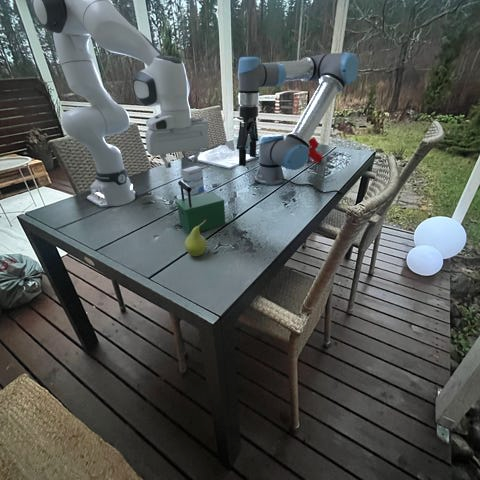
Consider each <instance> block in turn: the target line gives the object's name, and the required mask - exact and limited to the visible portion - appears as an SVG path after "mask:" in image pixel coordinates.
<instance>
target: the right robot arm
mask: <svg viewBox="0 0 480 480" xmlns="http://www.w3.org/2000/svg"><path fill="white" fill-rule="evenodd" d="M359 63H360V61H359V58H358V56H357V54H355V53H354V52H348V51H344V52H331V53H330V52H329V53H328V52H327V53H322V54H317V55H313V56H306V57H303V58H302V59H301V60H300V59H297V60H287V61H286V60H285V61H275V62H272V61H271V62H261V59H260V57H259V56H242V57H241V56H240V58H239V59H238V70H237V79H238V95H237V98H238V105H239V106H238V117H240V118H242V121H239V129H238V135H237V142H236V150H237V149H239V165H238V167H239V166H240V167H246V166H247V162H246V154H247V149H246V148H247V147H246V146H247V142H248V138H249V140H250V141H249V155H250V157H256V158H257V142H259V143H258V145H259V153H258V157H259V158H258V167H257V171H256V174H255V177H254V181H255V183H258V184H259V185H262V186H263V185H264V186H279V185H281V184H283V183H284V181H285V182H287V183H289V184H292V185H295V186H299V187H305V186H306V187H307V186H309V187H312V188H315V189H316V191H318V192H320V193H322V194H331V193H338V194H340V195H343V192H342V191H340V190H338V189H333V190H327V191H326V192H323V191H324V190H322V189H320V188H319V187H318V186H317V185H315V184H312V183H297V182H294V181H292V180H289V179H286V178H285V175H284V172H283V171H284V170H283V168H285V169H286V170H292V171H297V170H299V169H302V168H303V167H304V166H305V165H306V163H307V162H308V160H309V158H310V157H309V156H308V155H309V149H308V148H309V146H310V145H309V140H310V139H311V138H313V135H314V133H315V131H316V130H317V129H318V126H319V125H320V123H321V121H322V119H323V118H324V116H325V115H326V113H327V111H328V110H329V107H331V104H332V103H333V101H334V99H335V97H336V96H337V95H338V94H340V93H342V92H343V91H344V89H345V88H346V86H348V85H352V84H353V83H355V81H356V79H357V77H358V74H359V66H360V64H359ZM300 80H301V81H302V82H313V83H314V82H315V83H319V85H318V86H317V89H316V90H315V92H314V94H313V96H312V97H311V99H310V101H309V103H308V104H307V106H306V108H305V109H304V111H303V113H302V115H301V116H300V119H299V120H298V122H297V124H296V125H295V127H294V129H293V131H292V132H288V133H287V134H286V136H284V134H279V133H278V134H277V133H276V134H266V135H262V136H260V139H259V131H258V123H257V118H258V116H259V106H258V105H259V99H260V88H273V87H274V88H276V87H281V86H283V85H284V83H286V82H292V81H300ZM314 185H315V186H314ZM316 186H317V187H318V188H319V189H318V188H317V187H316ZM321 190H322V191H321Z"/></svg>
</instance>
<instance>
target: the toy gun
mask: <svg viewBox="0 0 480 480" xmlns="http://www.w3.org/2000/svg"><path fill="white" fill-rule="evenodd" d="M309 145H310V146H309V148H308V149H309V155H308V156H309V158H311V159H312V160H314V161H315V164H316V165H318V164H319V163H320V162H321V163H322V161H323V159H324V156H323V155H322V154H321V153H320V152H319V151H317V148H318V147H319V142H318V141H317V139H316V138H315V137H314V136H312V137H311V138H310V140H309ZM316 162H319V163H316Z"/></svg>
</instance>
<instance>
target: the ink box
mask: <svg viewBox="0 0 480 480" xmlns="http://www.w3.org/2000/svg"><path fill="white" fill-rule="evenodd" d="M181 175H182V181H183V182H184V183H186V184H187V185H188V186H190V187H191V189H192V190H191V192H190V196H191V197H192V196H195V195H198V194H199V193H200V194H201V193H202V192H205V187H204V173H203V168H202V167H201V166H199V165H194V166H190V167H186V168H183V169H181ZM183 192H184V194H185V195H188V192H187V191H186V190H184V189H183Z"/></svg>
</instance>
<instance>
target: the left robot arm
mask: <svg viewBox="0 0 480 480" xmlns="http://www.w3.org/2000/svg"><path fill="white" fill-rule="evenodd" d="M32 7H33V10H34V14H35V16H36V19H37V21H38V22H39V23H40V25H41V26H42V27H43V28H44V29H45V30H47V31H48V32H51V33H53V34H52V37H53V38H52V39H53V43H54V48H55V51H56V55H57V59H58V61H59V64H60V67H61V70H62V72H63V75H64V77H65V80H66V82H67V86H68V87H69V89H70V91H72V93H74V94H75V95H77V96H80V97H82V98H84V99H85V100H86V101H87V102H88V103H89V105H90V106H83V107H75V108H71V109H69V110H66V111H64V112H63V113H62V116H61V126H62V128H63V131H64V132H65V133H66V134H67V135H68V136H69V137H70V138H71V139H74V140H76V141H78V142H79V143H81V144H82V145H83V146H84V147H85V148H86V149H87V151H88V152H89V154H90V155H91V158H92V161H93V163H94V166H95V169H96V170H95V171H94V175H95V177H96V178H95V180H94V181H93V183H91V184H90V193H91V194H88V195H87V197H86V199H87V201H89V202H91V203H93V204H94V205H96V206H98V207H100V208H109V207H118V206H123V205H127V204H129V203H132V202H133V201H134V200H135V199H136V194H137V192H136V191H135V190H134V188H133V187H134V185H133V184H132V183H131V179H130V178H129V176H128V171H127V169H126V167H125V164H124V160H123V156H122V153H121V150H120V149H119V148H118V147H117V146H115V145H113V144H109V143H107V142H106V140H105V137H106V136H111V135H117V134H120V133H122V132H124V131H126V130H128V129H129V128H130V124H131V119H130V115H129V113H128V111H127V110H126V109H125V108H124V107H123V106H122V105H120V104H118V103H117V102H116V101H114V99H113V98H112V96H111V97H110V95H109V93H108V92H107V91H106V89H105V87H104V85H103V83H102V81H101V78H100V75H99V73H98V70H97V67H96V65H95V62H94V59H93V56H92V53H91V51H90V46H89V41H90V40H92V41H93V42H95V43H96V44H98V46H100V47H101V48H103V49H104V50H106V51H108V52H110V53H113V54H119V55H124V56H127V57H131V58H134V59H136V60H138V61H140V62H141V63H143V64H144V65H145V66H146V67H145V68H143V69H142V70H139V71H137V72H136V73H135V74H134V76H133V79H132V90H133V93H134V96H135V98H136V99H137V101H138V102H139V103H140V104H142V106H145V107H158V106H159V113H158V114H156V115H154V116H152V117H150V118H148V119H146V120H145V125H146V127H147V130H146V131H145V146H146V147H145V148H146V151H147V153H148V154H149V155H150V156H152V157H156V156H157V157H158V156H159V157H160V159H161V160H162V162H164V167H165V168H166V169H171V168H172V162H171V161H170V160H167V159H166V158H167V155H169V154H176V153H181V152H188V151H193V152H194V154H193V156H194V157H192V160H191V162H192V163H193V164H197V163H199V161H198V156H199V154H200V152H201V149H207V148H209V147H210V144H211V141H210V135H209V131H208V130H209V122H208V120H207V119H205V118H204V117H202V116H201V117H192V115H191V106H190V104H189V95H190V89H191V88H190V82H189V78H188V77H187V71H186V68H185V64H184V61H183V60H182V59H180V58H179V57H178V56H177V57H176V56H173V55H167V54H163V53H162V52H161V51H160V50H159V49H158V48H157V46H155V44H154V43H152V41H150V39H149V38H147V36H146V35H144V34H143V32H141V31H139V30H138V29H137V28H136V27H135V26H134V25H132V24H131V23H130V22H129V21H128V20H127V19H126V18H125V17H124V16H123V15H122V14H121V13H120V12H119V10H118V9H117V8H116V7H115V6H114V4H113V3H112V2H111V0H32Z"/></svg>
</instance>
